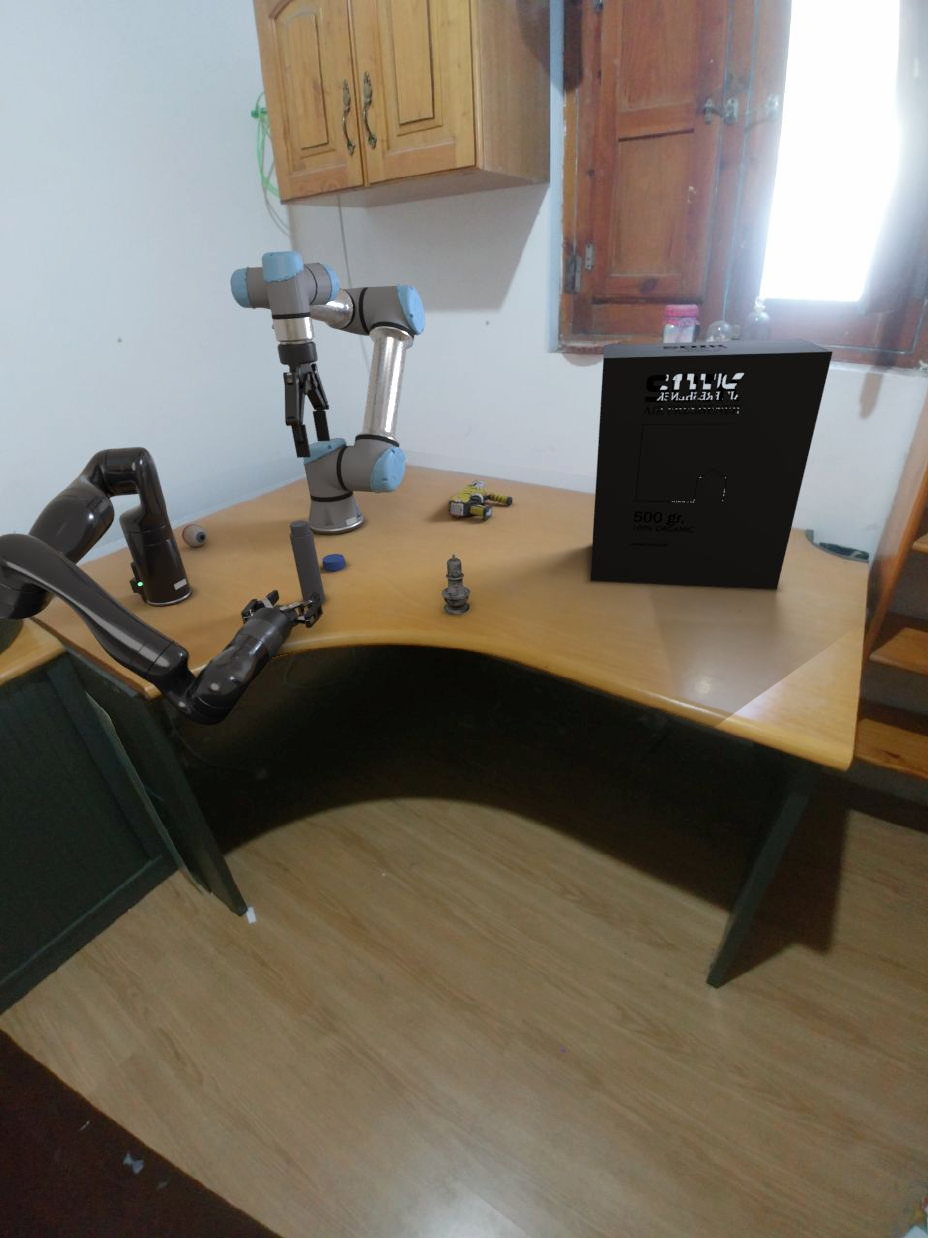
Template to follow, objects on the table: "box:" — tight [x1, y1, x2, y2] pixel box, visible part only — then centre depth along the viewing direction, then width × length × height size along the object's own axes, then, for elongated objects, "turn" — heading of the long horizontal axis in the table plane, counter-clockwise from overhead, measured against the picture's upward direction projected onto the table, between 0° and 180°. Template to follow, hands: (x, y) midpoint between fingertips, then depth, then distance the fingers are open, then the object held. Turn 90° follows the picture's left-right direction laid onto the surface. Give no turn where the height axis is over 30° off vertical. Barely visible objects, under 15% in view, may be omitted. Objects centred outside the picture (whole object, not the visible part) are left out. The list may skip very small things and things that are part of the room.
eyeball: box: [181, 523, 208, 548], centre depth 159 cm, size 6×6×6 cm
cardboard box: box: [589, 338, 834, 590], centre depth 125 cm, size 38×20×45 cm, turn 78°
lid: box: [321, 553, 346, 572], centre depth 145 cm, size 5×5×2 cm
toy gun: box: [447, 479, 514, 521], centre depth 175 cm, size 5×24×15 cm
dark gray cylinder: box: [288, 519, 326, 605], centre depth 126 cm, size 5×5×18 cm
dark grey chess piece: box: [441, 553, 471, 615], centre depth 121 cm, size 6×6×12 cm
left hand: (297, 594), depth 121 cm, fingers open, 8 cm apart
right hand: (314, 448), depth 131 cm, fingers open, 13 cm apart
